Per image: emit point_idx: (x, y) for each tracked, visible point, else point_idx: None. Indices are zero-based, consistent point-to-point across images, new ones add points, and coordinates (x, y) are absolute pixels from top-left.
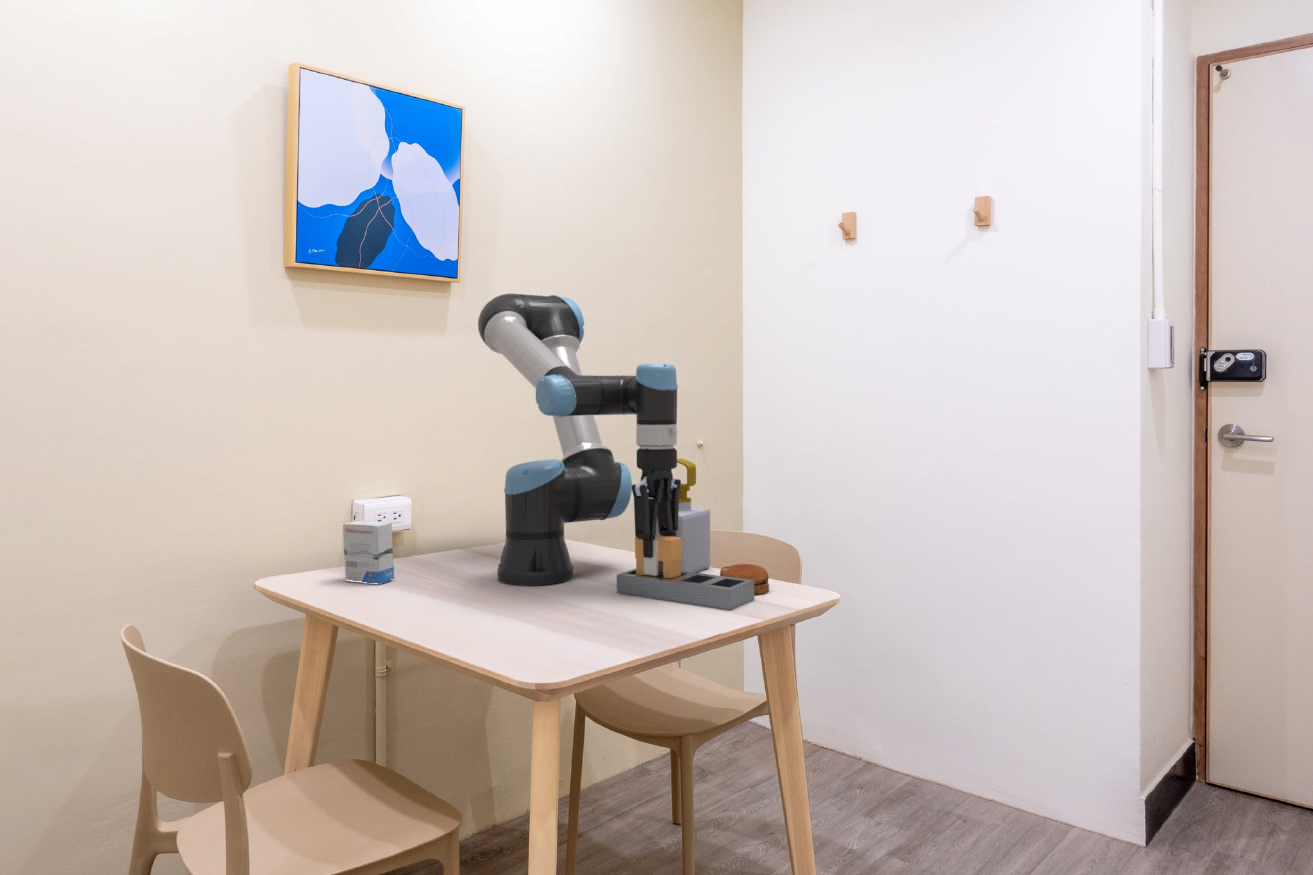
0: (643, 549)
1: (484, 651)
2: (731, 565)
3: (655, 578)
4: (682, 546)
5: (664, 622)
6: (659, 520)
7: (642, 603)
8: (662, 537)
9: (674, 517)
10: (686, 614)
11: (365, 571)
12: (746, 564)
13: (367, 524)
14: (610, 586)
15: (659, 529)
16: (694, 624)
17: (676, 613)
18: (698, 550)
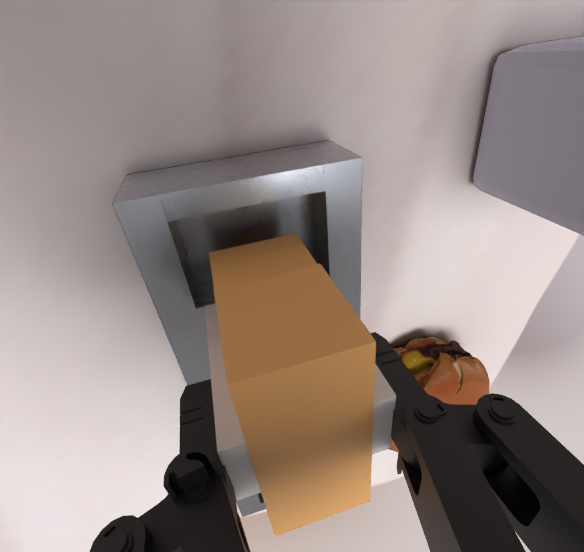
0: (180, 426)
1: None
2: (461, 387)
3: (197, 363)
4: (581, 233)
5: (31, 488)
6: (442, 525)
7: (106, 345)
8: (328, 465)
9: (527, 541)
10: (131, 461)
11: None
12: None
13: None
14: (191, 43)
15: (413, 441)
16: (87, 512)
17: (117, 449)
18: None
